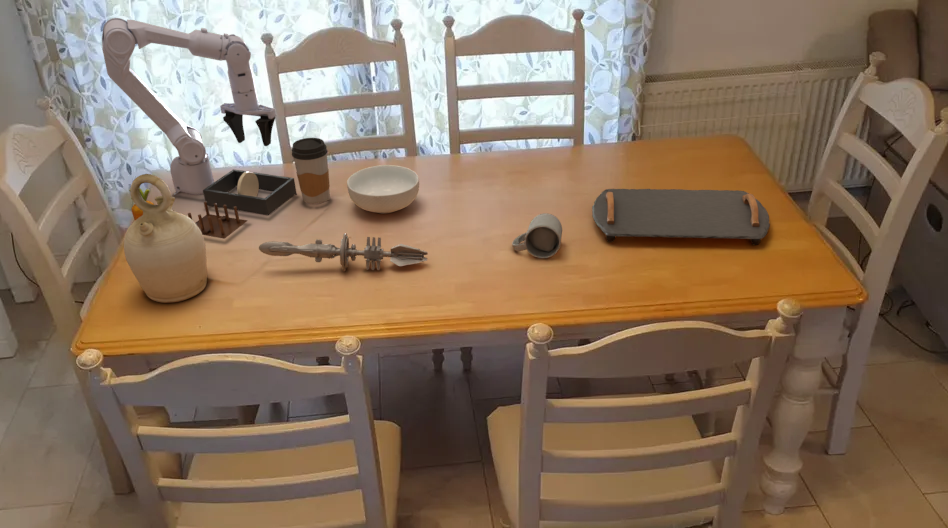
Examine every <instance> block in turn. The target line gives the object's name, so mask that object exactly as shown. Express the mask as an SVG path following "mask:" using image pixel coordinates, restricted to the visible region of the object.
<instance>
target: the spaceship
mask: <svg viewBox="0 0 948 528" xmlns="http://www.w3.org/2000/svg"><path fill="white" fill-rule="evenodd" d="M258 250H259V251H260V252H261V253H262V254H265V255H267V256H273V257H289V256H291V255H302V256H304V257H308V258H314V261H315V263H321V262H322V261H323V259H332V260H333V259H335V258H336V257H339V263H340V265H341V269H342V271H343V272H345V271H346V270H347V268H348V267H349V266H348V265H349V260H351V262H355V261H356V258H357V256H362V257H363V259H365V260H364V262H365V269H366V270H370V263H371V271H375V266H376V270H377V271H380V270H381V263H382V260H384V258H390V259H389V260H390V261H389V262H390V263H392V264H394V265H396V266H398V267H404V266H409V265H410V266H411V265H414V264H420V263H423V262H426V261H428V257H426V256H427V255H428V251H427V250H423V249H420V248H417V247H415V246H410V245H408V244H403V243H399V244H397V245H394V246H392V247H390V251H386V250H384V248H382V237H377V243H376V237H374V236H373V237H372V241H371V237H370V236H367V237H366V244H365V247H364V248H363V250H362V249H361V250H360V249H357V246H356V244H355V243H352V244H351V246H350V237H348V234H347V233H346V232H345V233H343V235H342V238H341V240H340V247H338V246H336V245H335V244H332V243H329V244H327V243H323V240H322V239H318V238H316V239H315V243H307V244H303V245H302V244H301V245H294V244H292V243H291V242H288V241H275V240H273V241H265V242H263V243H261V244H260V245H258Z"/></svg>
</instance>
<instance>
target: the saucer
mask: <svg viewBox="0 0 948 528" xmlns="http://www.w3.org/2000/svg"><path fill="white" fill-rule="evenodd" d="M253 172H254V171H248V172H244V173H243V174H242V175H241V176H240V178H239V181H238V185H237V186H236V189H237V190H236V192H237V193H236V194H241V195H247V196H253V197H258V194H259V191H260V189H259V182H258V178H257V176H256V175H255V174H254V173H253Z"/></svg>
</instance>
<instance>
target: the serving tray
mask: <svg viewBox="0 0 948 528" xmlns="http://www.w3.org/2000/svg"><path fill="white" fill-rule="evenodd" d="M591 214H592V218H593V221H594V222H595V224H596V226H597V227H598V228H599V230H601V232H603V234H604V235H605V240H606V242H608V243H613V242H614V241H615V240H616V237H629V238H630V237H631V238H632V237H633V238H670V239H671V238H679V239H680V238H681V239H729V240H730V239H732V240H733V239H734V240H735V239H737V240H750V242H751V245H753V246H759V244H760V243H761V241H762V240H763V239H764V238H766V236H767V234H768V231H769V229H770V226H771V223H770V215H769V213H768V211H767V209H766V207H764V206H763V204H762V203H761V202H760V200H758V199H757V198H756V197H755V195H754V194H753V193H749V192H747V191H744V190H729V189H720V190H718V189H680V188H679V189H678V188H670V189H668V188H667V189H665V188H664V189H663V188H662V189H661V188H660V189H659V188H658V189H656V188H653V189H652V188H637V189H636V188H606V189H604V190H602V191H601V193H600V194H599V195H598V196H597V197H596V198H595V200H594V202H593V205H592V206H591Z"/></svg>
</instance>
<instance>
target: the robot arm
mask: <svg viewBox="0 0 948 528" xmlns="http://www.w3.org/2000/svg"><path fill="white" fill-rule="evenodd" d="M150 44H156V45H163V46H169V47H176V48H181V49H187V50H188V51H189V53H190V54H191V55H192V56H195V57H199V58H206V59H210V60H213V61H214V60H215V61H225V62H226V67H227V76H228V81H229V85H230V90H231V95H232V100H233V103H230V102H229V103H227V102H224V103H223V104H221V105H219V108H220V113H221V114H224V116H223V117H222V119H223V122H224V123H225V124H226V125H227V126H228V127H229V128H230V130H231V132H232V133H233V135H234V137H235V139H236V141H237V143H238V144H241V143H243V142H244V141H246V135H245V130H244V123H243V120H244V117H243V116H253V117H259V118H258V119H256V120H255V124H256V126H257V127H258V130H259V133H260V135H261V140H262V144H263V146H264V147H268V146H269V145H271V144H272V132H273V127H274V124H275V121H276V119H277V113H276V108H275V107H269V106H266V105H263V104H260V101H259V98H258V94H257V93H258V92H257V88H256V83H255V77H254V72H253V69H252V67H251V65H252V64H251V56H252V53H251V52H250V49H249V46H247V43H246V42H245V40H244V39H243V38H242V37H240V36H238V35H236V34H234V33H231V34H229V33H224V32H223V34H219V33H215V32H210V31H208V29H207V28H204V27H201V28H200V29H194V30H193V31H191V32H189V33H187V32H183V31H179V30H175V29H171V28H168V27H164V26H159V25H155V24H153V23H152V24H151V23H147V22H144V21H139V20H136V19H135V20H134V19H126V20H125V19H123V18H121V17H112V18H110V19H108V20H107V21H105V23H104V25H103V28H102V34H101V46H102V47H101V48H102V49H101V50H102V54H103V58H104V63H105V69H106V74H107V76H108V77H109V78H110V79H111V80H112V82H114V84H115V85H117V86H118V87H119V89H120V90H121V91H122V92H123V93H124V94H125V95H126V96H127V97H128V98H129V99H130V100H131V101H132V102H133V103H134V104H135V105H136V106H137V107H138V108H139V109H140V110H141V111H142V112H143V113H144V114H145V115H146V116H147V117H148V118H149V119H150V120H151V121H152V122H153V123H154V124H155V125H156V126H157V127H158V128H159V130H161V131H162V132H163V133H164V135H165V136H166V137H167V139H168V140H169V142H170V144H171V145H172V146H173V147H174V148H175V149H176V150H177V154H178V156H175V157H174V158H173V159H172V160H171V162H170V170H169V171H170V176H171V180H172V184H173V188H174V193H173V195H177V194H178V193H180V192H181V193H186V194H188V195H194V196H195V195H196V196H197V195H204V193H203V190H204V189H205V188H207V187H208V186H210V185H211V184H213V183H214V182H215V180H214V175H213V170H212V165H211V162H210V157H209V153H207V150H206V147H205V144H204V142H203V137H202V134H201V133H200V131H199V130H198V129H197V128H195V127H192V126H190V125H188V124H187V123H186V122H185V121H184V120H183V119H181V118H179V117H178V116H177V115H176V114H175V112H174V111H172V110H171V109H170V108H169V107H168V105H167V104H165V102H164V101H163V100H162V99H161V98H160V97H159V96H158V95H157V94H156V93H155V92H154V91H153V90H152V89H151V88H150V87H149V85H148V84H147V83H146V82H145V81H144V80H143V79H142V78H141V77H140V76H139V75H138V74H137V73H136V72H135V71H134V70H133V69H132V67H131V58H132V56H133V54H134V50H135V48H136V45H137V47H138V50H141V49H143V48H145V47H146V46H148V45H150Z"/></svg>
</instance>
